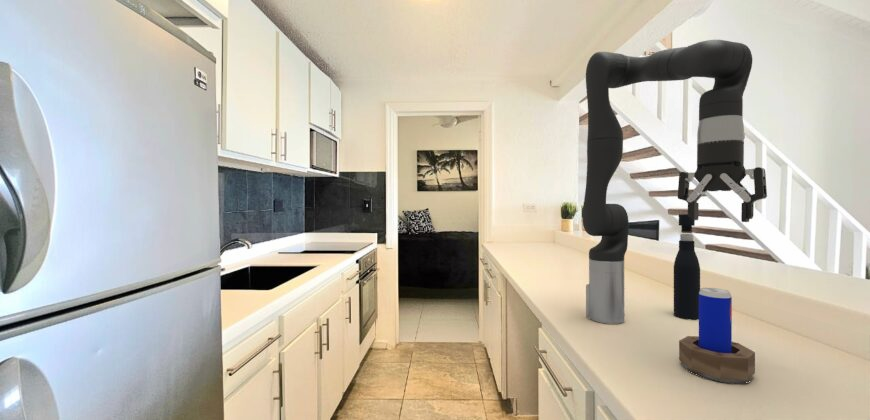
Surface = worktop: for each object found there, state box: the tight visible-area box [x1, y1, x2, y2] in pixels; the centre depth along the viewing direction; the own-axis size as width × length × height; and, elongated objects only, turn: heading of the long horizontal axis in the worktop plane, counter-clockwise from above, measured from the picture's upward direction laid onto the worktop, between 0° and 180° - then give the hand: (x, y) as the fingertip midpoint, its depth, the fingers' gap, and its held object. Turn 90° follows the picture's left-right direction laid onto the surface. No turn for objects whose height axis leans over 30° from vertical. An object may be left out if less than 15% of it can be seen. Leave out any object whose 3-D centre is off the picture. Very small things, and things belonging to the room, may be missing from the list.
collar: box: [678, 335, 756, 384], centre depth 72 cm, size 11×11×5 cm
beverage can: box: [698, 287, 733, 353], centre depth 72 cm, size 5×5×15 cm
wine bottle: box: [673, 213, 701, 321], centre depth 107 cm, size 6×6×30 cm
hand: (718, 220), depth 75 cm, fingers open, 8 cm apart
